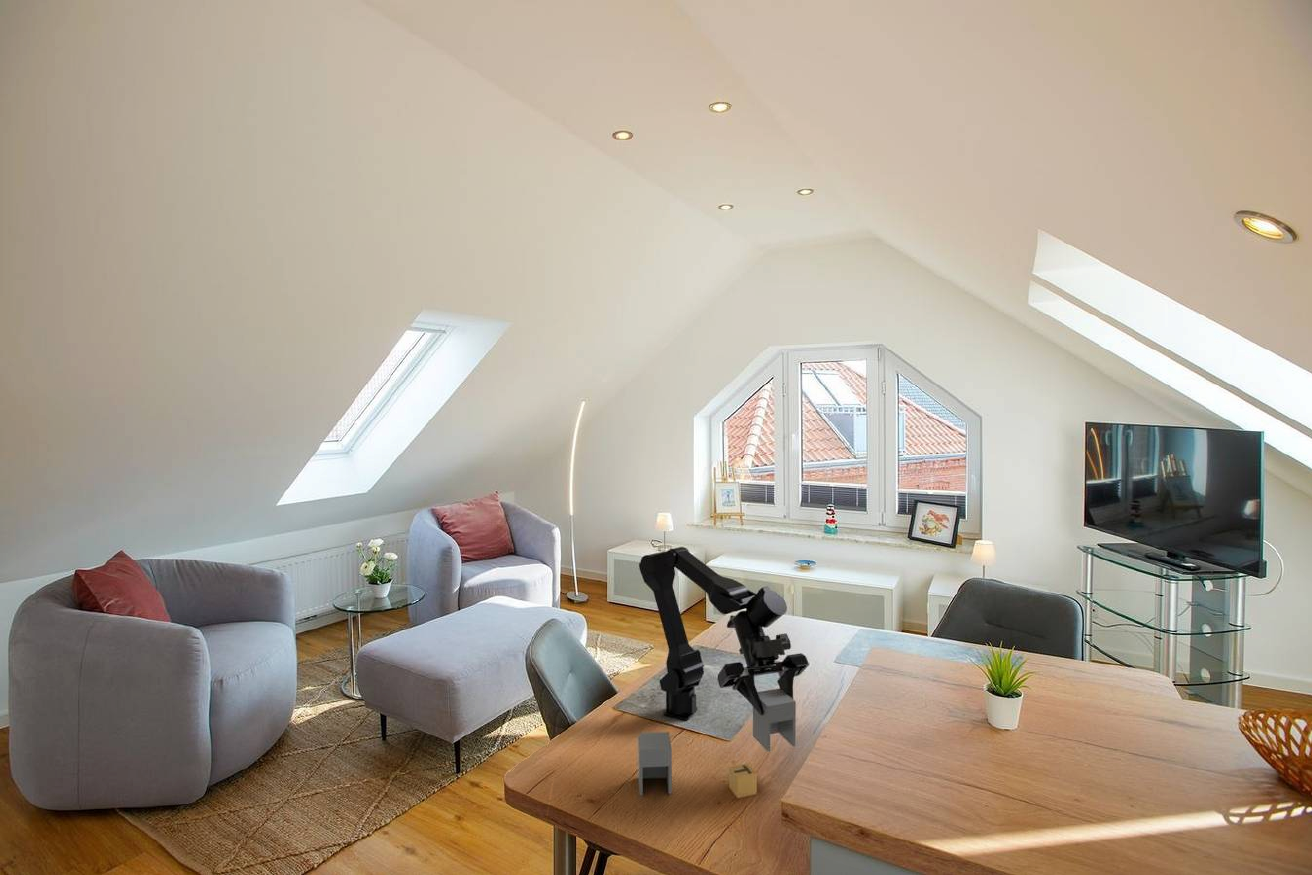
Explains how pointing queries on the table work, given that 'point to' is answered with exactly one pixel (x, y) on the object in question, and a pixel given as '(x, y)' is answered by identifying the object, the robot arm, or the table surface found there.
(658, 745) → the slate cover
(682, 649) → the robot arm
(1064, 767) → the table surface
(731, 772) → the ochre cube
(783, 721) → the charcoal cover
